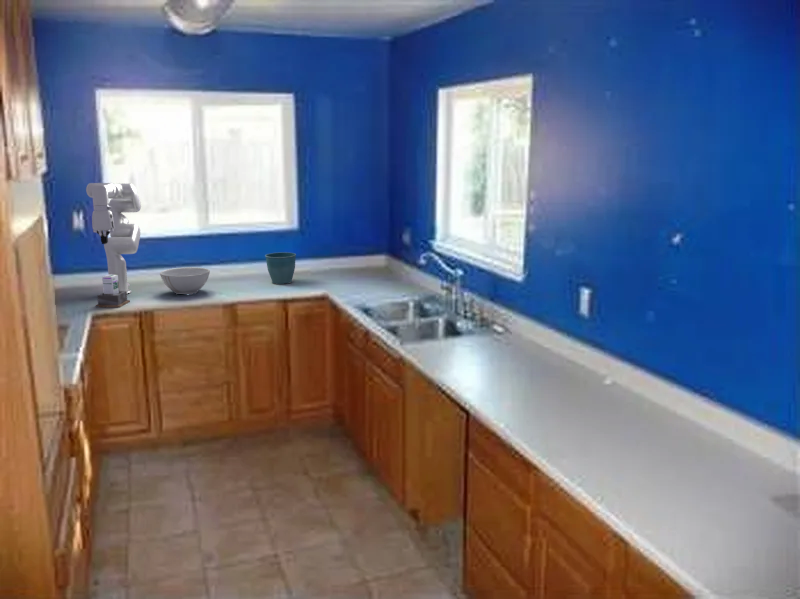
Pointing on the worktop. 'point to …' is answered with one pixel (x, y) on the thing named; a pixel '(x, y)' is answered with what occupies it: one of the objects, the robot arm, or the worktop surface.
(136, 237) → the robot arm
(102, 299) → the dark grey open box
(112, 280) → the syrup box
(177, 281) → the decorative bowl
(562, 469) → the worktop surface
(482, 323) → the worktop surface
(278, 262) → the flower pot
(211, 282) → the worktop surface
